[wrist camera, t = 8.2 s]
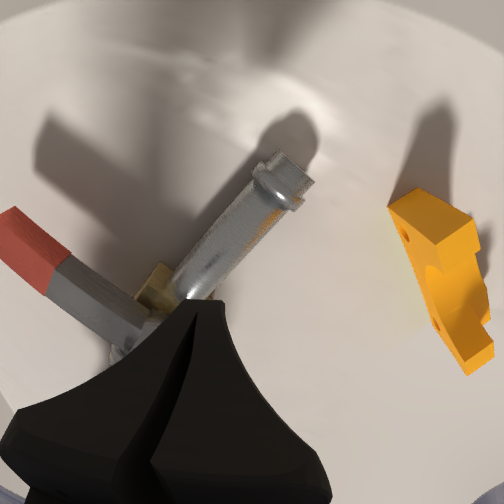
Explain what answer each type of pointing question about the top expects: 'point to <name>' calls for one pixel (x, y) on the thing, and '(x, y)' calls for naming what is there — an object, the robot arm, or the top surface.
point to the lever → (73, 283)
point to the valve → (227, 238)
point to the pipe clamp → (447, 273)
